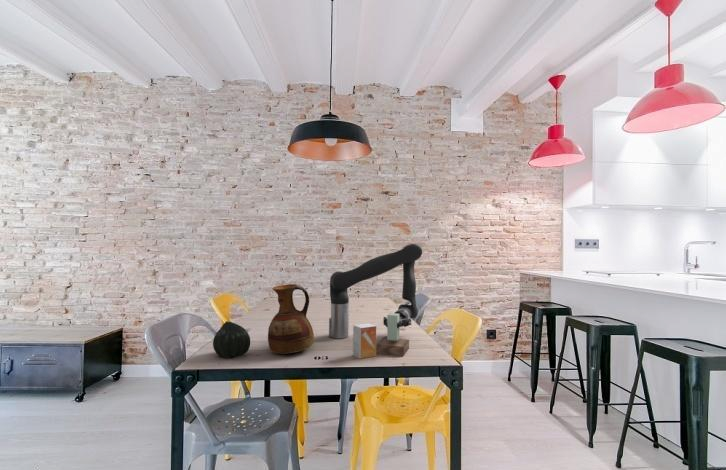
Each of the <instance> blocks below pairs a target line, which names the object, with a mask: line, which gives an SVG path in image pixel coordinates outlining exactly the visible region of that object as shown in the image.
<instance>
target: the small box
mask: <svg viewBox="0 0 726 470" xmlns="http://www.w3.org/2000/svg"><path fill="white" fill-rule="evenodd" d="M352 327H353V328H352V331H353V334H352V336H353V337H352V340H353V342H352V344H353V345H352V355H353V356H354V357H356V358H358V359H361V360H362V359H366V358H372V357H376V356H377V325H374V324H372V323H361V324H353V326H352Z"/></svg>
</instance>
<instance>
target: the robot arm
mask: <svg viewBox="0 0 726 470" xmlns="http://www.w3.org/2000/svg"><path fill="white" fill-rule="evenodd" d="M422 255H423V249H422V247H421V246H420V245H419V244H417V243H411V244H407V245H405V246H404V247H402V248H401V249H399V250H397V251H394V252H391V253H386V254H382V255H380V256H376V257H374V258H371V259H369V260H367V261H365V262H364V263H362V264H361V265H358V266H357V267H356V268H354V269H350V270H345V271H339V270H338V271H335V272H333V273H332V274H331V276H330V278H329V297H330V317H329V318H328V319H329V320H328V338H333V339H346V338H349V333H350V332H349V329H350V328H349V326H350V325H349V320H350V319H349V317H350V316H349V315H350V313H349V312H350V308H349V302H350V300H349V293H348V289H349V288H350V287H353V286H354V285H356V284H358V283H361V282H363V281H366V280H369V279H373V278H375V277H378V276H380V275H383V274H386V273H387V272H390V271H392V270H393V269H395V268H397V267H399V266H401V265H402V268H403V269H402V272H403V273H402V274H403V275H402V278H403V280H402V294H401V296H402V297H401V298H402V299H403V300H404V301H408V302H410V304H403V303H402V304H400V305H399V306H398V308H397V310H396V311H395V312H394V313H396V314H399V322H398V323H397V328H399V329H400V328H403V327H404V328H406V327H409V326H412V319H413V320H414V319H416V318H417V317H418V314H419V310H418V305H417V300H416V292H417V291H416V289H417V286H416V285H417V284H416V283H417V282H416V275H415V265H416V264H415V263H416V261H418V260H419V259H420V258H421V257H422ZM382 319H383V320H382V321H383V326H385V328H387V327H388V323H387V316H383V318H382Z"/></svg>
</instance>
